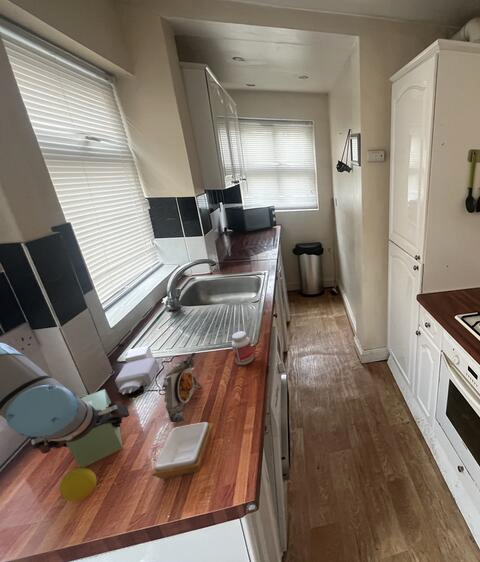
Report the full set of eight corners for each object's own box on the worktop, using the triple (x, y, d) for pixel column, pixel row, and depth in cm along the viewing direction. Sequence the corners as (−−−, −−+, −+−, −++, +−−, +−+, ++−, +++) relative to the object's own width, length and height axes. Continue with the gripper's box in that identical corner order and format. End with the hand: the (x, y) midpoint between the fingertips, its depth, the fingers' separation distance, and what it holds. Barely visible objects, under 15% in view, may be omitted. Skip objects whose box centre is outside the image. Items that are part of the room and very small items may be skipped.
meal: (187, 421, 87) (174, 384, 82) (171, 423, 86) (157, 386, 81) (205, 385, 101) (195, 351, 96) (191, 386, 100) (180, 353, 95)
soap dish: (176, 439, 81) (171, 425, 79) (216, 432, 83) (211, 418, 81) (155, 485, 70) (148, 470, 68) (202, 476, 72) (196, 460, 70)
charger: (111, 403, 94) (129, 374, 107) (146, 395, 97) (159, 367, 110) (105, 391, 92) (124, 362, 105) (141, 383, 95) (155, 356, 108)
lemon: (64, 514, 65) (47, 489, 62) (75, 490, 69) (60, 465, 66) (96, 503, 67) (82, 478, 64) (105, 480, 71) (92, 456, 68)
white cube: (130, 372, 108) (124, 358, 106) (134, 363, 113) (129, 349, 111) (150, 367, 110) (145, 353, 108) (153, 358, 115) (148, 345, 113)
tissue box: (80, 469, 72) (62, 437, 68) (80, 433, 82) (64, 404, 78) (122, 448, 77) (108, 417, 73) (117, 416, 87) (104, 388, 83)
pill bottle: (257, 356, 115) (251, 330, 111) (247, 366, 109) (241, 340, 105) (242, 354, 116) (236, 329, 112) (232, 364, 110) (225, 338, 106)
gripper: (-8, 473, 53) (41, 473, 70) (138, 409, 66) (149, 422, 83) (-17, 432, 55) (33, 442, 72) (127, 377, 68) (140, 397, 85)
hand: (95, 431), depth 77 cm, fingers closed on tissue box, 8 cm apart
